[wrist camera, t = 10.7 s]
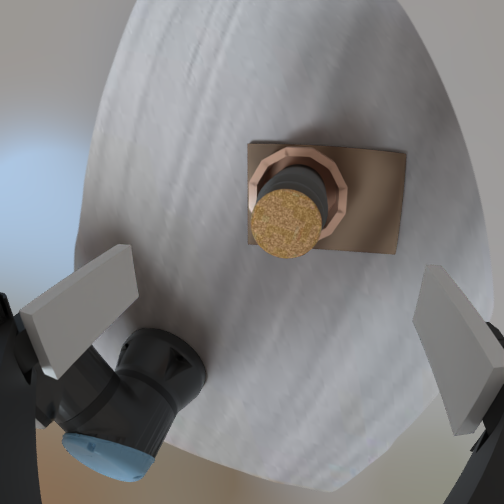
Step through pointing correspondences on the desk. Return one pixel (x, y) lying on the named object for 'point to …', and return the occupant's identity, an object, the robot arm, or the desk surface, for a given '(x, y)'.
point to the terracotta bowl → (318, 162)
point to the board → (355, 196)
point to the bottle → (290, 212)
